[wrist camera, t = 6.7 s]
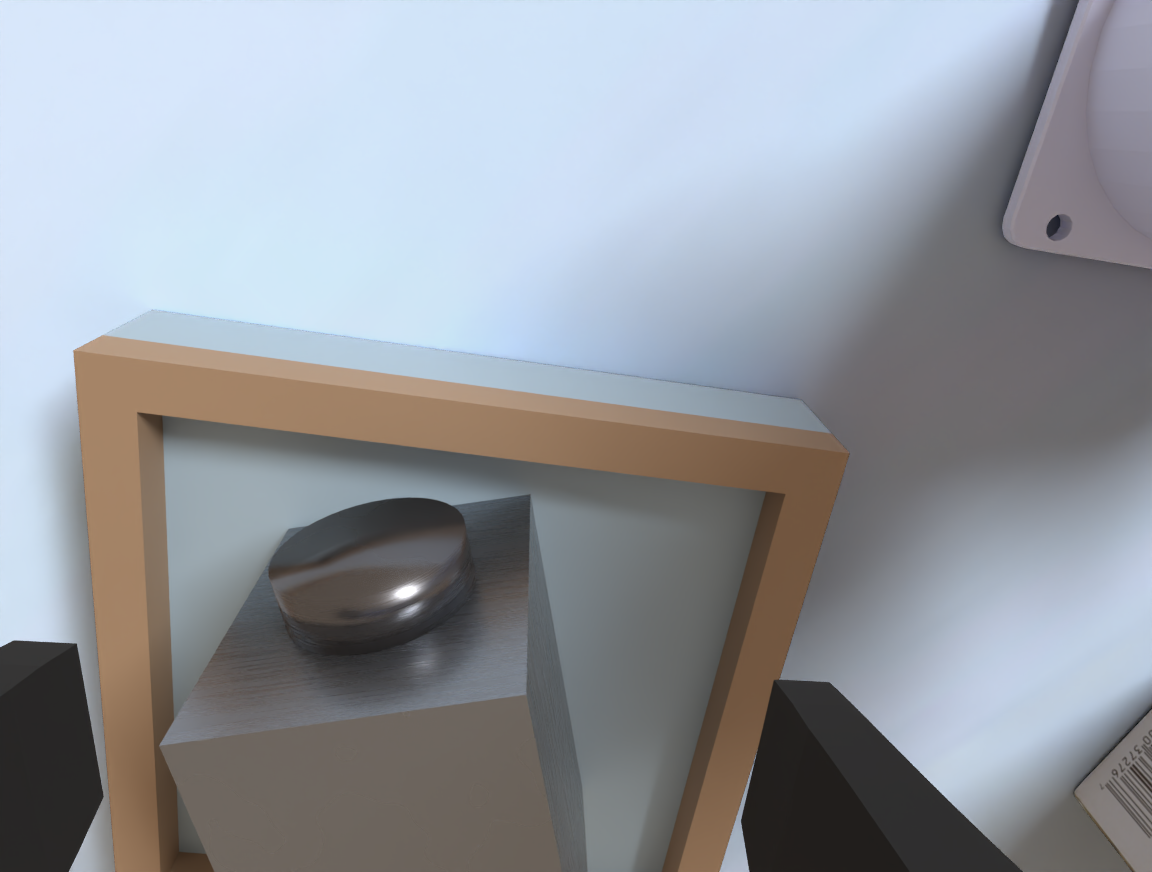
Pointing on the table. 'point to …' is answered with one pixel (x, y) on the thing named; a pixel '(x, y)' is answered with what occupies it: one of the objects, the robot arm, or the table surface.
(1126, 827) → the coffee box
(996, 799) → the table surface
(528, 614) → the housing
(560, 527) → the square tray
